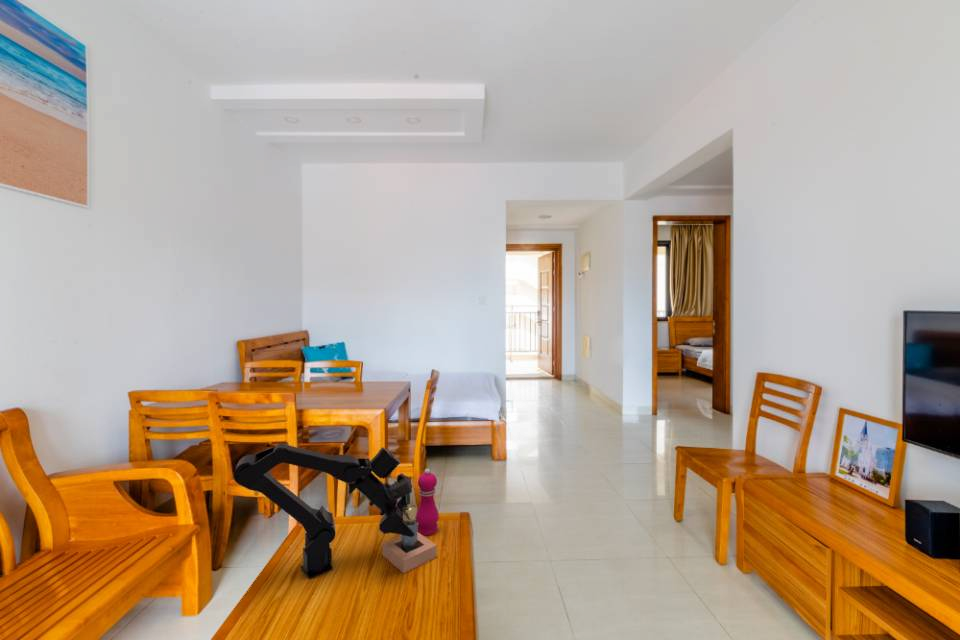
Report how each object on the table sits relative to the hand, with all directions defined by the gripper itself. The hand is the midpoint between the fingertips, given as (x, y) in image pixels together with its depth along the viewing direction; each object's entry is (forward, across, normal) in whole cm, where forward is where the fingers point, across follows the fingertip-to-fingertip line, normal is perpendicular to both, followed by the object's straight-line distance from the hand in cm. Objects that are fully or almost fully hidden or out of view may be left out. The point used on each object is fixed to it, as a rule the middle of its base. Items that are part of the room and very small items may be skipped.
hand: (414, 526), depth 125 cm
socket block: (+5, 0, +7) cm, 9 cm away
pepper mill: (+9, +14, +4) cm, 17 cm away
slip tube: (+5, 0, +7) cm, 8 cm away
